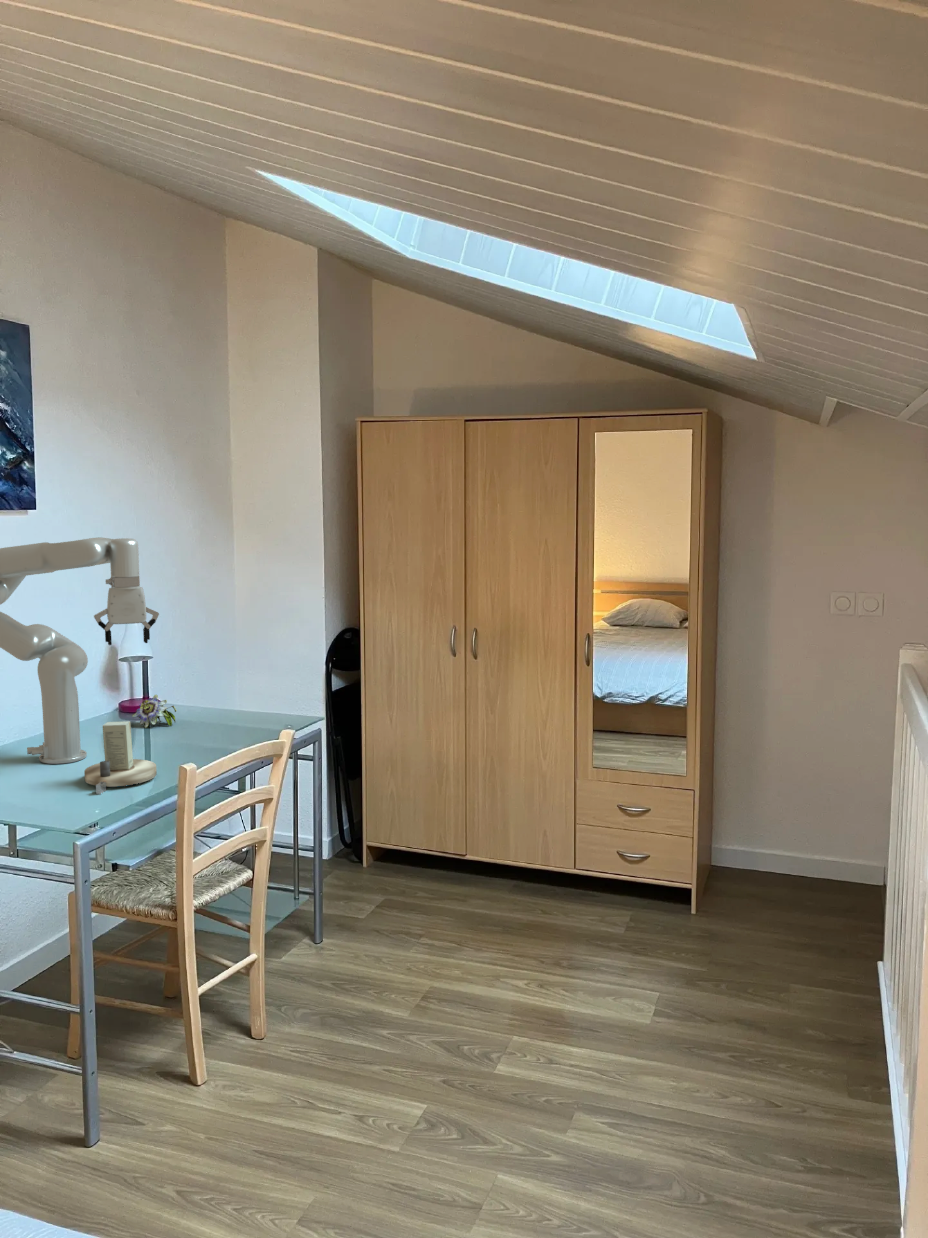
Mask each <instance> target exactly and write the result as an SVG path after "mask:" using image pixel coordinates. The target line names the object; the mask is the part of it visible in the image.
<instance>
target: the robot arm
mask: <svg viewBox="0 0 928 1238" xmlns="http://www.w3.org/2000/svg"><path fill="white" fill-rule="evenodd" d="M139 554H140V553H139V543H138V541H137V540H136V539H134V538H129V537H128V538H127V537H126V538H123V537H122V538H107V537H102V536H101V537H90V538H83V539H77V540H70V541H62V542H54V543H51V542H46V541H45V542H38V543H30V544H24V545H13V546H7V547H6V546H5V547H1V548H0V605H2V604H5V602H6V601H8V599H9V598H10V597H11V596H12V595H13V593H14V592H15V591H16V590H17V588H18V587H19V586H20V585H21V583H22V582H23V581H24V579H25V578H26V577H27V576H33V575H35V576H36V575H41V574H42V575H43V574H50V573H54V572H57V571H64V570H74V569H79V568H80V569H81V568H82V569H83V568H88V567H94V566H98V565H104V564H105V565H106V564H110V578H107V579H105V585H110V586H111V587H109V588H108V593H107V601H106V603H107V605H106V608H105V609H103V610H102V611H100V612H98V613H95V614H94V615H93V618H94V619H95V622H96V624H98V626H99V627H101V629H103V630H104V636H105V643H107V644H108V646H112V642H113V641H112V631H111V628H112V627H113V626H114V625H126V624H127V625H132V624H142V625H143V630H142V631H143V633H142V634H143V643H145V644H148V642H149V641H148V640H150V637H151V636H150V629H151V627H152V626H153V625H154V624H156V622H157V620H158V617H159V616H160V613H159V612H158V611H156V610H154V609H152V608H149V607H148V606H146V596H145V592H144V588H143V586H142V587H141V585H140V581H141V580H140V579H141V578H140V558H139ZM147 614H150V615H152V616H151V618H150V620H149V621H148V622H147ZM104 616H107V617H106V618H107V620H108V621H107V623H106V624H105V623H104V622H103V621H102V619H101V618H102V617H104ZM0 649H2V650H3V651H5V652H6V653H8V654H10V655H11V656H12V657H14V658H16V659H17V660H20V661H22V662H28V661H33V660H35V659H36V660H37V659H39V661H38V664H37V676H38V680H39V685H40V692H41V693H40V694H41V707H42V708H41V709H42V725H43V727H42V728H43V742H42V744H39V745H38V746H35V747H34V746H31V747H27V748H26V750H27V751H26V753H27V755H31V756H36V755H38V760H39V762H41V763H42V764H52V765H58V764H69V763H75V762H79V761H82V760H84V759H85V758H86V757H88V756H87V754H88V753H87V751H86V750H84V749H81V733H80V732H81V729H80V728H81V727H80V707H79V706H80V705H79V694H78V693H79V692H78V687H77V684H76V679H75V678H76V677H77V676H79V675H80V674H82V673H83V672H84V671H85V670H86V668H87V666H88V662H89V660H88V656H87V653H86V651H85V650H84V649H83V648H82V647H81V646H80V645H79V644H77V643H76V642H74V641H72V640H71V639H69V638H68V637H66V636H64V635H63V634H61V633H60V632H59V631H57V630H55V629H53V628H51V627H49V626H48V625H44V624H42V623H41V624H40V623H34V624H29V625H25V624H23V623H21V622H19V621H18V620H16V619H14V618H13V617H12V616H10V615H8V614H7V613H5V612H2V611H0Z"/></svg>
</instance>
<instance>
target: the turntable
mask: <svg viewBox="0 0 928 1238" xmlns="http://www.w3.org/2000/svg"><path fill="white" fill-rule="evenodd" d="M157 771H158V770H157V764H156V763H155V762H153V761H152V760H147V759H139V758H138V759H137V758H133V766H132V767H131V768H130V769H124V770H110V761H105V760H101V761H100V762H98V763H95V764H92V765H90V766H88V767H86V768H85V769H84V782H86V783H87V784H89V785H91V786H95V787H96V785H97V784H98V783H100V782H102V781H106V788H113V787H112V786H124V787H127V786H126V785H131V786H134V785H133V784H136V785H138V783H139V784H142V783H144V782H145V783H146V782H147V781H150V780H152V779H154V778H155V777H156V776H157V775H158V773H157Z"/></svg>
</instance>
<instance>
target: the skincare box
mask: <svg viewBox="0 0 928 1238" xmlns="http://www.w3.org/2000/svg"><path fill="white" fill-rule="evenodd" d="M102 736H103V748H104V750H103V751H104V761H110V770H124V769H130V768H131V767H132V766H133V759H134V757H133V756H134V755H133V743H132V727H131V721H129V720H128V721H127V720H126V721H107V722H105V723H104V724H102Z"/></svg>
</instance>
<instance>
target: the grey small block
mask: <svg viewBox="0 0 928 1238" xmlns="http://www.w3.org/2000/svg"><path fill="white" fill-rule="evenodd" d="M104 791H105V792H107V787H106V781H102V782H100V783H98V784H97V785H96V786H95V794H96V795H102V794H104V793H105V792H104ZM103 792H104V793H103ZM101 793H102V794H101Z"/></svg>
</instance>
